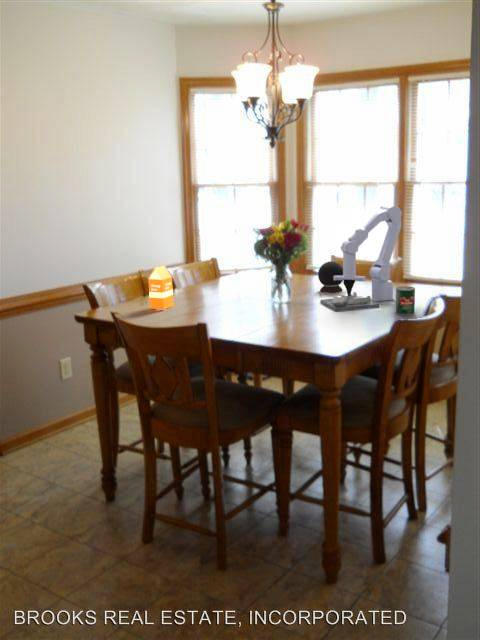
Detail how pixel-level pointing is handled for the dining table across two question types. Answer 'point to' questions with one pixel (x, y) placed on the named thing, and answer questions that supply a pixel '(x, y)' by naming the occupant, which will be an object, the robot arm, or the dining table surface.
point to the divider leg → (351, 296)
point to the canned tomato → (405, 300)
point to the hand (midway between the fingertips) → (349, 295)
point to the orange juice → (160, 288)
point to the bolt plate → (348, 307)
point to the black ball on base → (330, 277)
